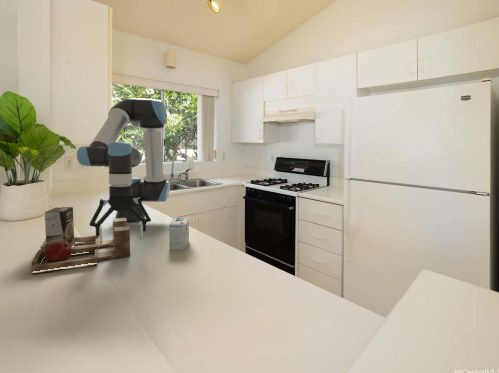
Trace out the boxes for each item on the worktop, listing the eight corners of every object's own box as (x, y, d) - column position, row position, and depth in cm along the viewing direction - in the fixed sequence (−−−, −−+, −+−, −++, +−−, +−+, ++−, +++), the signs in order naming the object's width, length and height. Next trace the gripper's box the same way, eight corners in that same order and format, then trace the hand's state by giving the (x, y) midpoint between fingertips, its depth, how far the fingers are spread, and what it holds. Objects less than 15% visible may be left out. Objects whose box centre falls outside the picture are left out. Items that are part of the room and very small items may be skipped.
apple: (63, 268, 91) (62, 245, 90) (38, 268, 91) (36, 244, 90) (75, 259, 99) (74, 237, 97) (52, 259, 98) (51, 237, 97)
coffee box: (65, 254, 103) (63, 211, 101) (46, 255, 101) (43, 211, 99) (75, 246, 112) (73, 206, 110) (57, 246, 110) (55, 206, 108)
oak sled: (40, 257, 98) (38, 230, 97) (47, 245, 110) (45, 221, 109) (128, 247, 111) (127, 223, 110) (125, 237, 123) (125, 215, 122)
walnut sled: (31, 274, 86) (29, 242, 85) (40, 258, 98) (38, 230, 96) (131, 260, 99) (130, 233, 98) (128, 247, 111) (127, 223, 109)
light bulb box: (173, 241, 122) (173, 217, 120) (189, 241, 122) (189, 217, 121) (168, 250, 111) (168, 223, 110) (185, 250, 112) (186, 224, 110)
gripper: (155, 183, 109) (155, 235, 112) (81, 184, 98) (83, 243, 100) (158, 185, 103) (158, 241, 105) (79, 187, 91) (81, 249, 94)
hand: (121, 242), depth 103 cm, fingers open, 13 cm apart
